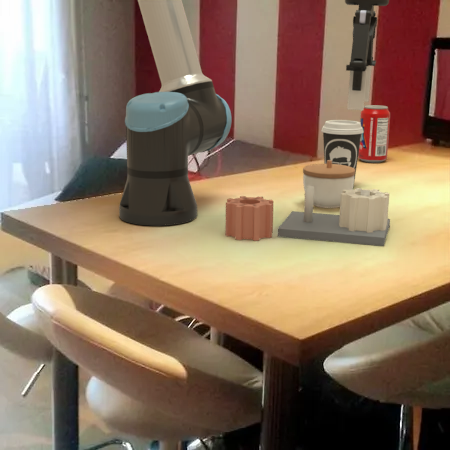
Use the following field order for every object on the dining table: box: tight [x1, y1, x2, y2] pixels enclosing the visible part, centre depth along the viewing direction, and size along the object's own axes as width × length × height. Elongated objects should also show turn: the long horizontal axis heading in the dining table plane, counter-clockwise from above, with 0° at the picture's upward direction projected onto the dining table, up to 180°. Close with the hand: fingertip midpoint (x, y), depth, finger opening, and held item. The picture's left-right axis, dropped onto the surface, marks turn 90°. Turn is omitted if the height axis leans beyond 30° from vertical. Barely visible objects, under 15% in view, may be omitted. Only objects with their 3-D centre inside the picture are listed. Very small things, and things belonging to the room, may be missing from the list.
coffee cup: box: [320, 119, 364, 189], centre depth 169 cm, size 10×10×15 cm
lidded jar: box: [302, 160, 356, 209], centre depth 153 cm, size 11×11×9 cm
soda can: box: [358, 104, 391, 164], centre depth 202 cm, size 8×8×15 cm
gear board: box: [276, 186, 391, 247], centre depth 134 cm, size 19×13×8 cm
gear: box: [224, 195, 274, 242], centre depth 132 cm, size 8×8×6 cm
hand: (358, 105), depth 134 cm, fingers open, 13 cm apart
